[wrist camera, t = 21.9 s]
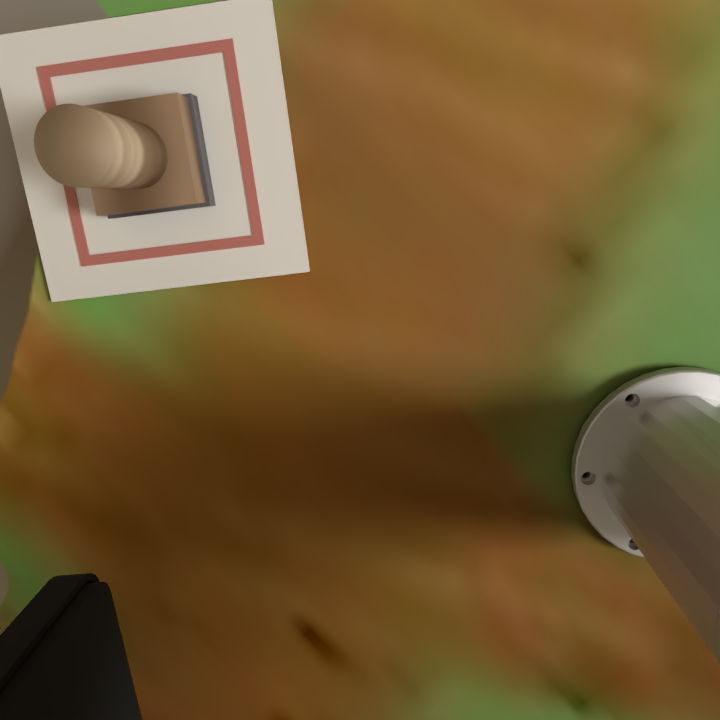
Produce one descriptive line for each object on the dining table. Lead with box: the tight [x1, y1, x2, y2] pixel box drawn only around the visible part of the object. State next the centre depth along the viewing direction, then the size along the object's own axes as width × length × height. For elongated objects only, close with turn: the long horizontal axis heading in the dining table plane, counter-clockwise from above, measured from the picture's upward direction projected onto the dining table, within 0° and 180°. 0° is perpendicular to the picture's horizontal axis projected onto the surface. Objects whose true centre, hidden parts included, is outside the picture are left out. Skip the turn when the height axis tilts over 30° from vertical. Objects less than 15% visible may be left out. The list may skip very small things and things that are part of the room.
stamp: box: [34, 93, 216, 219], centre depth 32 cm, size 6×6×10 cm
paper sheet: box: [0, 0, 310, 302], centre depth 37 cm, size 16×15×1 cm
